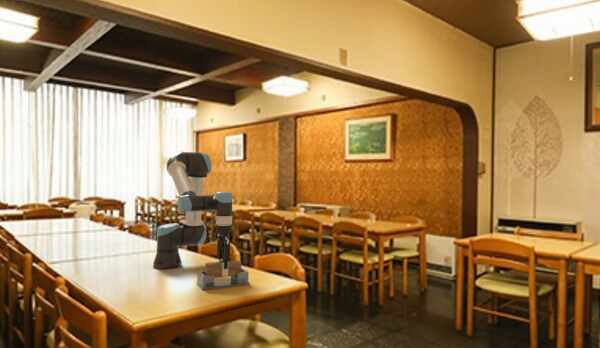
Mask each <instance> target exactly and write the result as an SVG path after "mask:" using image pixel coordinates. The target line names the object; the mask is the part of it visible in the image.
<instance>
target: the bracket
mask: <svg viewBox="0 0 600 348" xmlns="http://www.w3.org/2000/svg"><path fill="white" fill-rule="evenodd" d="M249 273H250V272H249V271H248V270H247V269H245V268H243V267H242V266H241V272H237V276H230V277H229V278H223V279H222V278H220V279H215V278H216V277H215V275H207V276H205V270H200V271H197V281H196V286H198V287H199V288H200V289H201V290H202V291H207V290H208V291H209V290H215V289H216V290H217V289H223V288H224V289H225V288H233V287H241V286H243V287H244V286H249V285H250V281H249Z"/></svg>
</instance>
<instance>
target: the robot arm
mask: <svg viewBox="0 0 600 348" xmlns="http://www.w3.org/2000/svg"><path fill="white" fill-rule="evenodd" d="M212 166H213V165H212V160H211V156H209V154H208V153H205V152H196V151H179V152H178V151H177V152H176V153H173V154H172V155H171V156H170V157H169V158H168V160H167V162H166V171H167V173H168V175H169V176H170V177H171V178H172V180H173V183H174V186H175V188H176V191H177V193H178V195H179V197H178V198H177V208H178V209H177V210H178V211H180V212H185V219H184V220H183V221H182V225H180V224H179V223H166V224H162V225H160V226H158V227H157V231H156V232H157V233H156V253H155V256H154V260H153V263H152V266H153V268H155V269H161V270H167V269H168V270H169V269H177V268H179V267H181V266H182V264H183V263H182V259H181V256H180V253H179V250H180V249H179V248H180V247H188V246H189V247H190V246H199V245H202V244H203V243H205V240H206V238H207V234H208V233H207V226H206V225H205V224H204V221H203V220H202V212H211V211H212V212H214V211H215V218H214V220H215V224H216V225H215V233H216V234H218V235H217V237H216V238H217V240H216V241H217V247H216V248H217V250H216V251H217V252H216V257H217V258H218V262H222V276H227V277H229V276H228V262H229V261H231V239H230V237H229V234H232V232H233V201H234V200H233V193H232V192H230V191H217V192H216V194H212V195H211V194H207V195H205V194H204V189H205V188H204V186H205V184H204V183H205V179H207V178H208V174H210V173H212Z"/></svg>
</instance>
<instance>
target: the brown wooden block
mask: <svg viewBox="0 0 600 348" xmlns="http://www.w3.org/2000/svg"><path fill="white" fill-rule="evenodd" d="M241 267H242V262H241V261H240V260H230V261H229V262H228V276H222V262H219V261H212V262H210V261H209V262H204V271H205V276H207V275H215V278H225V277H231V276H237V272H241Z"/></svg>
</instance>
